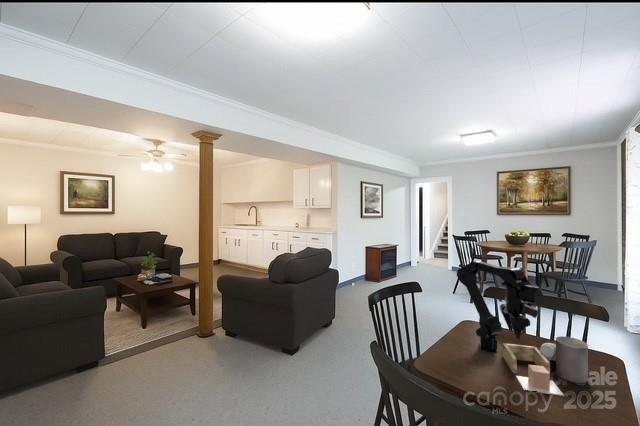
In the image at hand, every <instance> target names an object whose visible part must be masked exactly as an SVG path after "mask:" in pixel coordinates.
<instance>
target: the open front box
mask: <svg viewBox="0 0 640 426" xmlns="http://www.w3.org/2000/svg"><path fill="white" fill-rule="evenodd" d="M502 357H503V359H504V360H505V362H506V364H507V365H508V367H509V369H510V371H511V372H512V373H513V374H517V372H518V369H517V367H518V365H517V363H518V362H517V360H518V361H525V362H526V361H527V362H534V365H537V366H544V367H545V368H546V370H547V371H548V372H549V373H550V374H551V362H550V360H548V359H546V358H545V357H544V355H543V354H542V353H541V351H540V349H539V348H538V347H537V346H534V345H533V346H530V345H523V344H522V345H521V344H515V343H504V342H503V343H502Z"/></svg>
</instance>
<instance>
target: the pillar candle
mask: <svg viewBox="0 0 640 426" xmlns="http://www.w3.org/2000/svg"><path fill="white" fill-rule="evenodd" d="M555 344H556V361H555V373H556V375H557V376H558V377H560V378H562V379H563V380H565V381H568V382H571V383H574V384H576V383H577V384H585V383H587V382H588V380H589V353H588V352H589V344H587V342H586V341H583V340H581V339H580V338H579V339H578V338H575V337H571V336H562V335H561V336H557V337H555Z"/></svg>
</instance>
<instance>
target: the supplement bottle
mask: <svg viewBox="0 0 640 426" xmlns="http://www.w3.org/2000/svg"><path fill="white" fill-rule="evenodd" d="M539 351H540V352H541V353H542V354H543V355H544V357H545V358H546V359H547V360H548V361H555V362H556V343H551V342H544V343H542V345H540V349H539Z"/></svg>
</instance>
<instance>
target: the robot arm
mask: <svg viewBox="0 0 640 426" xmlns="http://www.w3.org/2000/svg"><path fill="white" fill-rule="evenodd" d="M479 272H484V273H487V274H490V275H493V276H494V275H495V276H497V277H499V278H500V280H502V281H503V282H501V283H500V284H501V286H504V287H505V297H504V302H505V303H501V304H500V305H499V310H500V313H501V315H502V316H503V319H504V321H505V323H506V325H507V329H508V330H509V331H512V332H513V334H514V336H515V339H517V340H520V338H521V336H522V333H523V330H524V329H525V328H527V327H531V320H530V319H529V318H528V317H527V316H526V315H528V316H530V317H532V318H534V319H536V318H537V316H538V314H539V312H540V310H538V309H537V308H536V307H534V306H533V305H538V306H540V305H541V304H542V303H543V301H544V300H545V299H544V298H545V296H544V294H543V291H542V290H541V288H540V287H539V286H534V285H533V286H532V284H531V282H530V281H529V279H528V277H527V276H526V275H525V272H524V271H523V269H522V268H519V267H508V266H507V267H506V266H505V267H504V266H500V265H496V264H491V263H488V262H484V261H481V260H473V261H470V262H469V263H468V264H466V265H464V266H462V267H461V268H459V269H457V270H456V277H457V279H458V280H459V282H460V283H461V284H462V285H463V286H464V287H465V288H466V289H467V291H468V294H469V296H470V298H471V300H472V302H473V305H474V307H475V310H476V311H477V313H478V316H479V319H478V320H479V321H478V323H479V326H480V327H478V328H477V329H475V335H476V336H477V337H479V342H478V347H479V349H480V350H481V352H491V353H498V340H497V337H498V336H499V335H500V333H501V332H502V330H503V327H502V323H501V322H500V319H499V317H498V316H497V315H493V314H492V313H491V310H490V309H489V307H488V305H487V303H486V301H485V299H484V297H483V295H482V292H481V290H480V288H479V287H478V284H477V283H478V280H477V279H478V277H477V275H478V273H479ZM532 304H533V305H532Z"/></svg>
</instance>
